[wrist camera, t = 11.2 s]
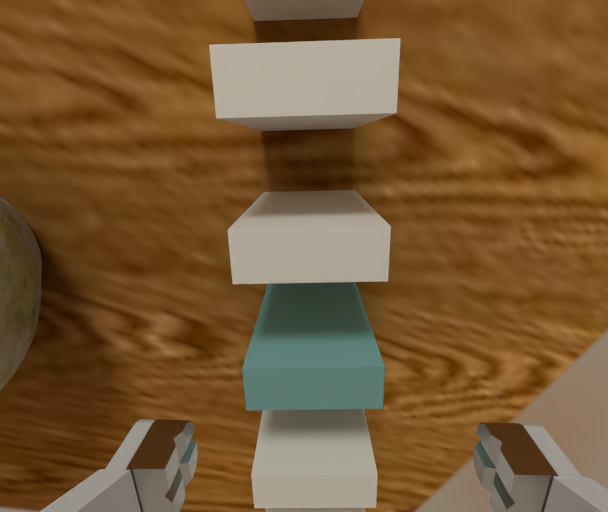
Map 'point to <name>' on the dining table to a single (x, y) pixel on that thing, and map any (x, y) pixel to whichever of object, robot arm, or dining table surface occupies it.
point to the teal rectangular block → (313, 350)
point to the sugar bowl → (17, 289)
